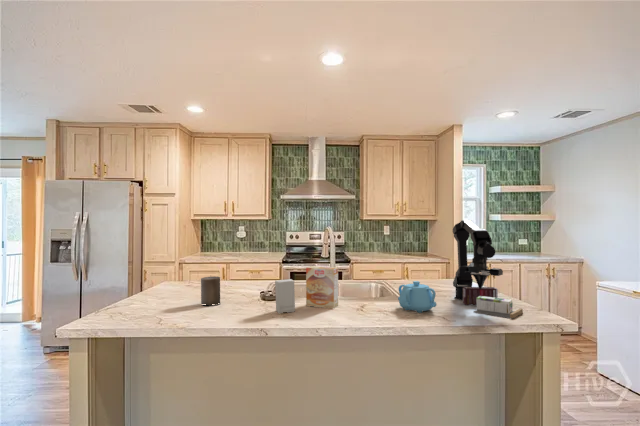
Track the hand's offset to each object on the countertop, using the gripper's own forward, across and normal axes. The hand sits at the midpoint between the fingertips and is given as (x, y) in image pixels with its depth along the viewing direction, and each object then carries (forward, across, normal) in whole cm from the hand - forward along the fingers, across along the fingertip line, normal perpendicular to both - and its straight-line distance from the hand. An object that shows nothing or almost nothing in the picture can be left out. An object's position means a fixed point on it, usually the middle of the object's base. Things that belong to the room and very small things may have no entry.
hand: (480, 288), depth 176 cm
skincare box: (+10, -65, -67) cm, 94 cm away
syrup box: (+7, -2, 0) cm, 7 cm away
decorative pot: (+10, -22, -21) cm, 32 cm away
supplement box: (+6, +2, +16) cm, 17 cm away
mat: (+10, +8, 0) cm, 13 cm away
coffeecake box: (+10, -60, -47) cm, 77 cm away
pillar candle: (+10, -105, -84) cm, 135 cm away
